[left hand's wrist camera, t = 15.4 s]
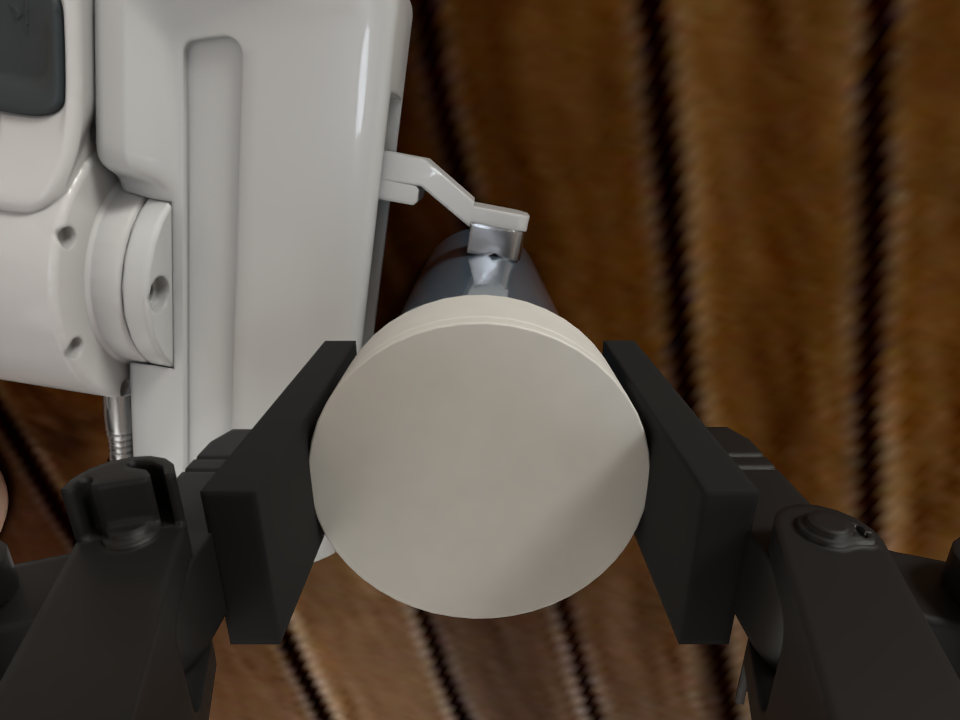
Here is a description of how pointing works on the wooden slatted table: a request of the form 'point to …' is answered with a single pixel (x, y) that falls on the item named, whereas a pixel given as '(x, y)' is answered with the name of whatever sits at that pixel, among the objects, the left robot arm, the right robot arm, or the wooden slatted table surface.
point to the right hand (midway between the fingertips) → (505, 330)
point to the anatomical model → (3, 500)
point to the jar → (476, 276)
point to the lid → (479, 459)
